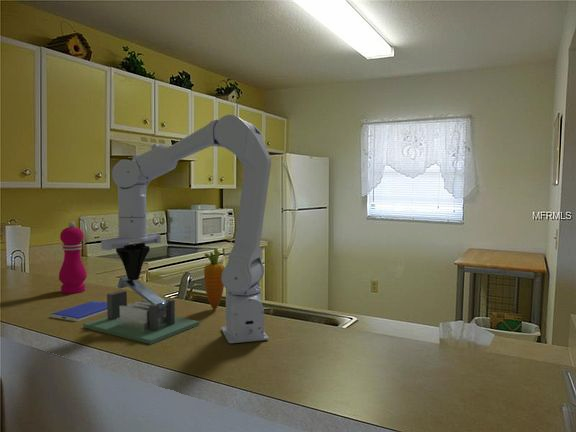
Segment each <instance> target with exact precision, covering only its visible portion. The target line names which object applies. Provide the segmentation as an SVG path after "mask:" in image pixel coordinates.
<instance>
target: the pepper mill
mask: <svg viewBox="0 0 576 432" xmlns="http://www.w3.org/2000/svg"><path fill="white" fill-rule="evenodd" d="M67 226H68V227H65V228H64V229H62V230H61V231H60V236H59V239H60V241H61V242H62V250H63V253H64V257H63V258H64V259H63V262H62V264H61V267H60V269H59V272H58V280H59V281H60V283H61V284H62V285H61V286H60V292H61V294H68V295H69V294H72V295H73V294H79V293H82V292H85V291H86V283H84V282H85V280H86V279H87V277H88V276H87V271H86V267H85V265H84V264H83V261H82V257H81V250H82V249H83V248H82V247H83V245H82V242H83V240H84V238H85V237H84V232H83V231H82V229H81V228H78V227H76V223H75V222H74V221H69V222H68V224H67Z"/></svg>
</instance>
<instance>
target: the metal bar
mask: <svg viewBox="0 0 576 432" xmlns="http://www.w3.org/2000/svg"><path fill="white" fill-rule="evenodd" d="M127 287H128V288H129V289H131V290H132V291H133V292H135V294H137V295H139V296H140V297H141V298H142V299H145V300H146V301H148V302H149V303H150V304H154V305H158V310H159V309H162V308H165V307H168V306H169V305H170V304H169V302H168V301H166V300H165V299H164V298H163V297H161V296H160V295H158V293H156V292H154V291H153V290H152V289H150V288H149V287H147V285H145V284H144V283H142V282H141V281H139V279H137V280H129V279H128V278H127V275H125V276H120V277H119V280H118V283H117V288H118V289H125V288H127Z"/></svg>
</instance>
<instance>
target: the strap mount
mask: <svg viewBox="0 0 576 432" xmlns="http://www.w3.org/2000/svg"><path fill="white" fill-rule="evenodd" d="M127 292H128V291H126V290H123V289H122V290H118V291H117V290H116V291H114V292H111V293H107V294H106V302H107V312H106V313H107V316H106V317H107V319H110V320H114V319H117V318H118V317H120V306H121V305H123V306H127V304H128V301H127V299H128V295H127ZM165 301H168V302H169V304H170V305H169V306H168V307H166V318H167V324H168V325H173V324H175V317H176V313H175V310H176V309H175V308H176V307H175V306H176V305H175V304H176V303H175V301H176V300H175V299H172V298H171V299H170V298H169V299H166V300H165ZM149 324H150V331H157V330H158V305H154V304H152V305H149Z"/></svg>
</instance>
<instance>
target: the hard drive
mask: <svg viewBox="0 0 576 432" xmlns="http://www.w3.org/2000/svg"><path fill="white" fill-rule="evenodd" d="M104 313H107V301H106V302H105V301H98V300H91V301H89V302H85V303H83V304H82V303H81V304H78V305H75V306H72V307H69V308H66V309H63V310H58V311H56V312H52V313H50V317H51V318H53V319H60V320H67V321H72V322H79V321H83V320H85V319H89V318H92V317H94V316H98V315H100V314H104Z"/></svg>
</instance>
